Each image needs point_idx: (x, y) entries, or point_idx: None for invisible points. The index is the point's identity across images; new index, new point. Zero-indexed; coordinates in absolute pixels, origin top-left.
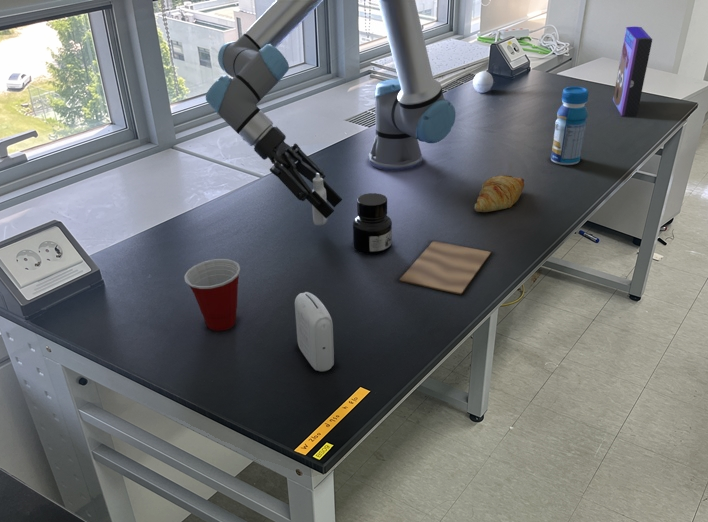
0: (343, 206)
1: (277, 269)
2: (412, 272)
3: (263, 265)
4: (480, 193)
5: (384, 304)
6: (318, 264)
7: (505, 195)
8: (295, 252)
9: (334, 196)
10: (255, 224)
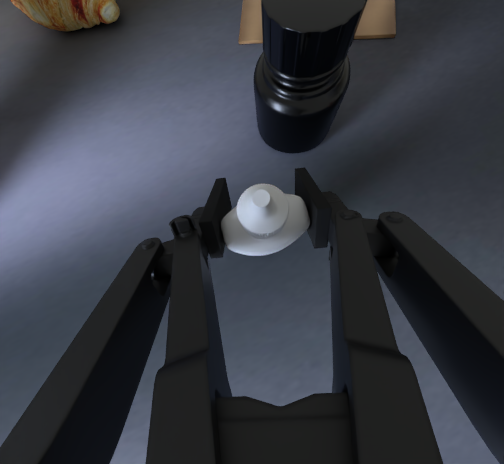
0: None
1: (464, 255)
2: (362, 26)
3: None
4: (61, 14)
5: (480, 27)
6: (401, 185)
7: None
8: None
9: (223, 194)
10: None
